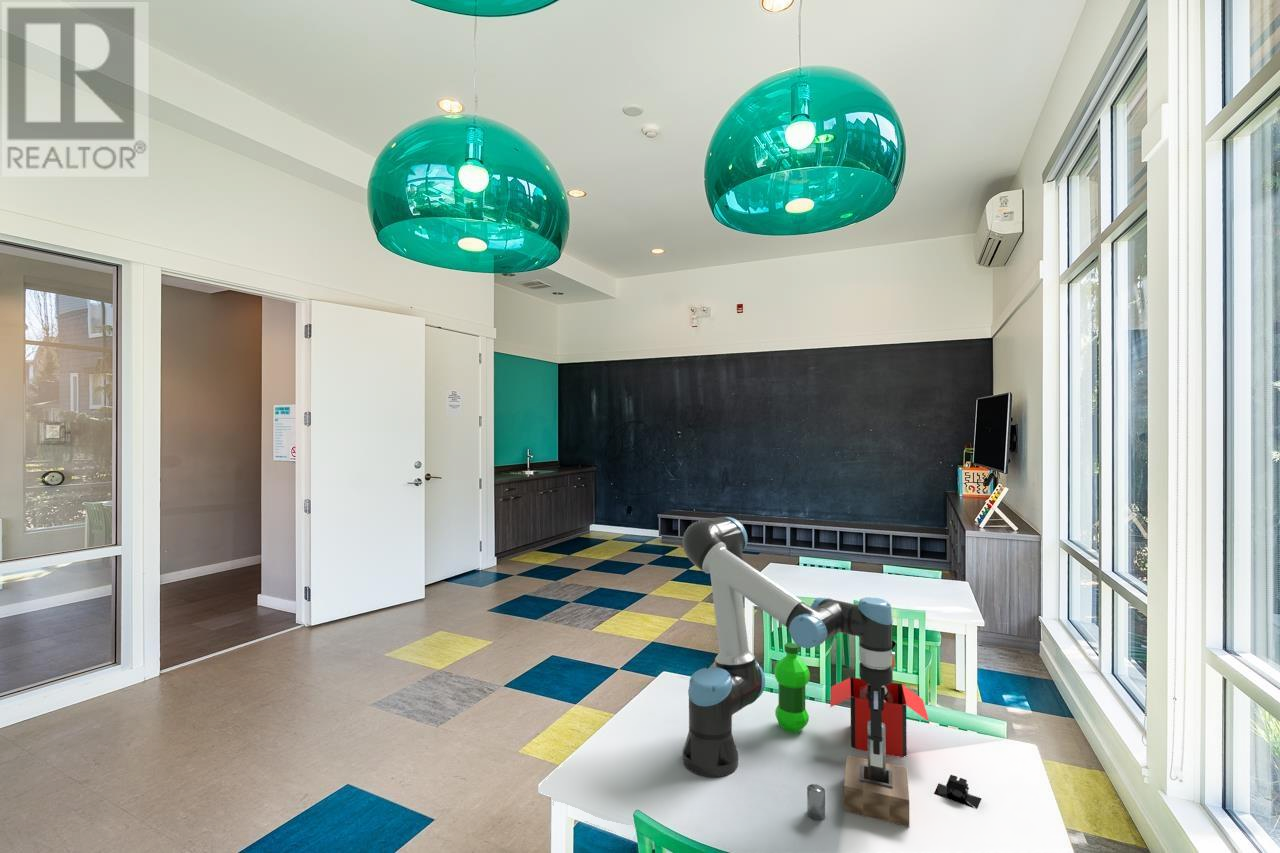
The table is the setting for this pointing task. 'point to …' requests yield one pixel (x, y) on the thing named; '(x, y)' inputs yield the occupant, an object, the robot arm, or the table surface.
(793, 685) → the plastic bottle
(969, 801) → the black notched mounting plate
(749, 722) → the table surface
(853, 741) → the jack-in-the-box
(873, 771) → the long pin
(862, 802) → the hole block
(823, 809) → the short pin
